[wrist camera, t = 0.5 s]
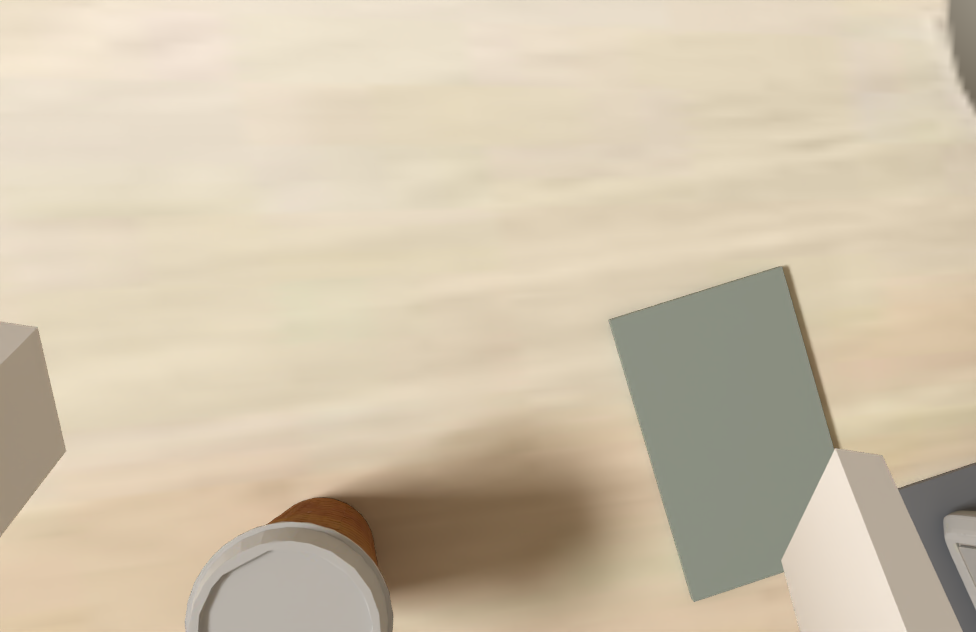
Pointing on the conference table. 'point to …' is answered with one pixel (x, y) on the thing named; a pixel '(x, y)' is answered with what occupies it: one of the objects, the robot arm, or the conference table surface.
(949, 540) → the digital clock
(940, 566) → the gray plate
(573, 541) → the conference table surface
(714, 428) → the side mat
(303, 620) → the disposable coffee cup
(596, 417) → the conference table surface
